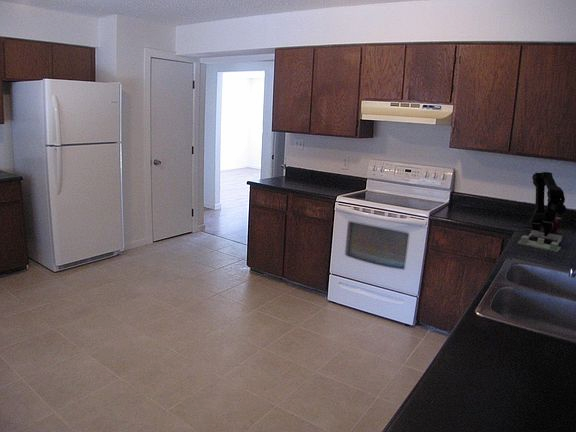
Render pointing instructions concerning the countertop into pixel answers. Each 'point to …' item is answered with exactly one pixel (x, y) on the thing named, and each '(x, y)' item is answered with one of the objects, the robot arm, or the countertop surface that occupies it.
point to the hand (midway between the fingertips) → (545, 235)
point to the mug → (556, 225)
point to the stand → (539, 244)
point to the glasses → (549, 236)
